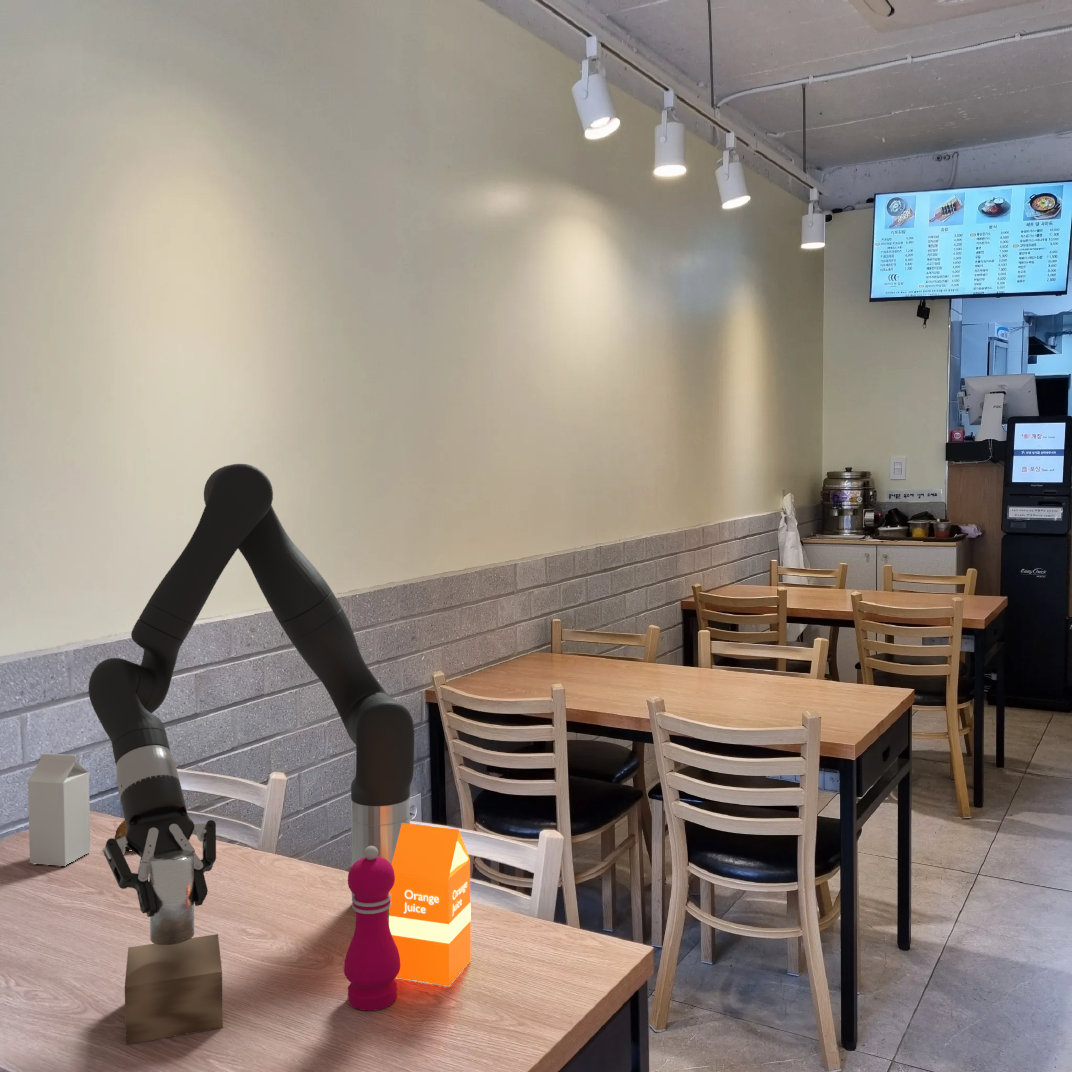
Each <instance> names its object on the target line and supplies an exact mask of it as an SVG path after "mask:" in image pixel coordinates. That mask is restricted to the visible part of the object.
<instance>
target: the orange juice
mask: <svg viewBox="0 0 1072 1072" xmlns="http://www.w3.org/2000/svg"><path fill="white" fill-rule="evenodd" d="M465 845H466V844H465V842H464V839H463V836H462V834H461V831H460V829H457V828H456V829H455V828H450V827H439V826H430V825H421V824H412V823H410V824H405V823H402V825H401V829H400V833H399V837H398V841H397V845H396V849H395V853H394V857H393V861H392V867H393V869H394V873H395V883H394V886H393V887H392V889H391V890H390V891H389V893H390V894H391V899H390V901H391V906H390V908H389V915H388V924H389V928H390V932H391V934H392V937H393V939H394V941H395V944H396V946H397V948H398V952H399V956H400V964H401V966H400V971H399V973H398V975H397V976H396V977H397V978H402V979H410V980H417V981H422V982H423V981H424V982H429V983H433V984H434V983H435V984H441V985H446V986H449V985H450V984H451V983H452V982H453V980H454V979H455V978H456V977H457V976H458V975H459V973H460V972H461V971H462V970H463V968H464V967H465V966H466V965H467V964H468V963H469V962H470V960H471V959H472V957H471V950H472V949H471V947H472V946H471V920H472V919H471V918H472V916H471V915H472V913H471V911H472V909H471V908H472V906H471V904H472V903H471V859H470V856H469V853H468V851H467V848H466V846H465ZM471 961H472V960H471Z"/></svg>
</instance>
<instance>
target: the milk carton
mask: <svg viewBox="0 0 1072 1072" xmlns="http://www.w3.org/2000/svg"><path fill="white" fill-rule="evenodd" d="M27 796H28V797H27V799H28V806H27V807H28V834H29V835H28V838H29V839H28V840H29V842H28V843H29V845H28V846H29V864H30V863H36V864H49V865H60V866H59V867H61V866H65V867H67V866H68V865H67V864H69V863H71V862H73V861H74V862H76V861H77V860H76V859H78V858H80V857H81V856H83V855H85V854H87V853H89V852H90V853H91V813H90V811H91V810H90V809H91V808H90V772H89V771H88V770H87V769H86V768H84V766H83V765H81V764H80V763H79V762H78V761H77V755H75V754H60V753H57V754H56V753H40V759H39V761H38V763H37V765H36V766H35V768H34V770H33V772H32V773H31V775H30V776H29V778H28V780H27ZM90 853H89V854H90ZM87 855H88V854H87ZM85 856H86V855H85ZM83 857H84V856H83ZM80 859H81V858H80ZM75 860H76V861H75ZM78 860H79V859H78ZM74 862H73V863H74ZM36 864H35V865H36ZM71 864H72V863H71ZM66 865H67V866H66ZM69 865H70V864H69Z"/></svg>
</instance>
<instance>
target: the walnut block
mask: <svg viewBox="0 0 1072 1072" xmlns="http://www.w3.org/2000/svg"><path fill="white" fill-rule="evenodd" d="M125 967H126V970H125V981H124V1018H125V1019H124V1023H125V1045H133V1043H134V1044H139V1043H143V1042H142V1041H145V1042H149V1041H155V1040H160V1038H162V1039H165V1038H164V1037H167V1038H170V1037H169V1036H173V1037H176V1036H175V1035H178V1036H183V1035H182V1034H184V1035H187V1034H186V1033H190V1034H194V1032H195V1033H200V1032H199V1031H201V1032H205V1031H211V1030H217V1029H222V1028H224V1019H223V1018H224V1017H223V1016H224V1015H223V1014H224V1011H223V1008H224V1007H223V1006H224V1004H223V1002H224V1001H223V968H222V967H223V966H222V960H221V950H220V940H219V934H218V933H217V934H209V935H203V936H197V937H196V936H195V937H192V938H190V939H189V940H187V941H185V942H182V943H178V944H174V945H158V944H154V943H150V944H142V945H135V946H129V947H128V948H127V957H126V966H125ZM138 1042H139V1043H138Z"/></svg>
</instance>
